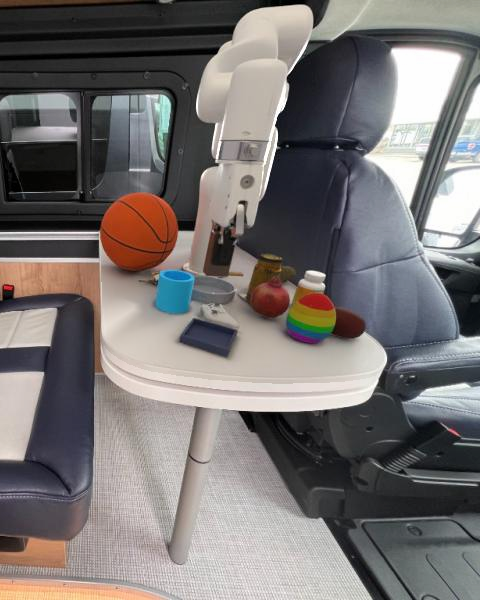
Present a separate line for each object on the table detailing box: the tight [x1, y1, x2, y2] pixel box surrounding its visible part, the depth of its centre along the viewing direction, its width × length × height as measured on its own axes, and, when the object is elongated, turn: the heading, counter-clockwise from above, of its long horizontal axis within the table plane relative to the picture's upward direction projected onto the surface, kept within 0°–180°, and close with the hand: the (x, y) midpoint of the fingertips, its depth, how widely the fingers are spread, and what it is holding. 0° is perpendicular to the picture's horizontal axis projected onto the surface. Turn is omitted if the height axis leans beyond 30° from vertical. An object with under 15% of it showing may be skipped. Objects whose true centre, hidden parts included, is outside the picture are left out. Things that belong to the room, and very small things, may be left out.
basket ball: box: [99, 191, 179, 272], centre depth 100 cm, size 24×24×24 cm
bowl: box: [191, 276, 237, 305], centre depth 87 cm, size 13×13×3 cm
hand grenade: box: [279, 265, 296, 284], centre depth 97 cm, size 5×6×10 cm
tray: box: [178, 317, 239, 358], centre depth 66 cm, size 9×9×2 cm
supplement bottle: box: [290, 270, 326, 308], centre depth 78 cm, size 5×5×10 cm
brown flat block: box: [203, 231, 244, 278], centre depth 59 cm, size 2×7×8 cm, turn 86°
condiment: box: [238, 253, 284, 304], centre depth 82 cm, size 7×8×12 cm
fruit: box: [249, 277, 291, 319], centre depth 74 cm, size 8×8×10 cm
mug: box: [154, 269, 195, 315], centre depth 80 cm, size 12×8×8 cm
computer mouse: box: [138, 270, 162, 287], centre depth 92 cm, size 7×15×4 cm, turn 88°
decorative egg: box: [285, 293, 336, 344], centre depth 66 cm, size 8×8×10 cm
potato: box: [330, 305, 367, 340], centre depth 68 cm, size 8×9×6 cm
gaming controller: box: [198, 303, 240, 331], centre depth 72 cm, size 10×4×7 cm
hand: (217, 261), depth 60 cm, fingers closed on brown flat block, 2 cm apart
